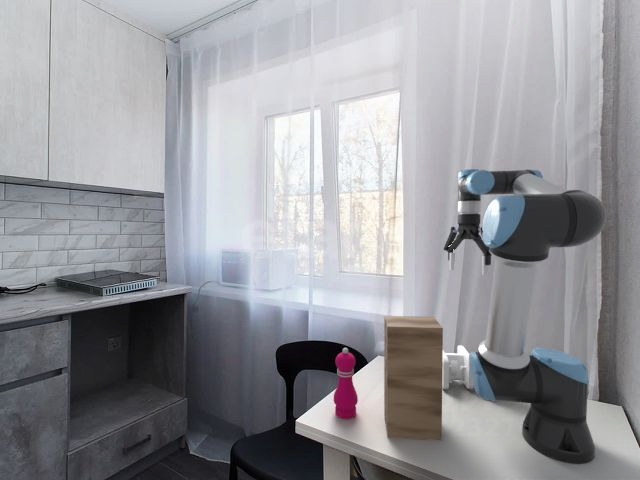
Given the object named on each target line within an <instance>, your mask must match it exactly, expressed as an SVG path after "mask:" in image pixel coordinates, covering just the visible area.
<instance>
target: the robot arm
mask: <svg viewBox="0 0 640 480" xmlns="http://www.w3.org/2000/svg"><path fill="white" fill-rule="evenodd" d="M482 195H483V196H484V195H487V196H488V195H500V196H497V197H495V198H494V199H493V200H492V201H491V202H490V203H489V204H488V206H487V209H486V211H485V213H484V216H483V221H482V226H481V227H480V224H481V214H480V213H481V207H482V206H481V201H482V200H481V199H482V198H481V197H482ZM457 213H458V215H457V225H458V226H451V227H450V232H449V235H448V237H447V240H446V242H445V244H444V247H443V251H446V252H447V253H448V255H447V260H448V262H449V271H454V264H455V263H454V262H455V253H456V252H455V253H453V249H454V250H455V249H457V248H458V247H459V246H460V245H461V243H462V242H463V241H464V240H472V241H474V242H475V244H476V245H477V246H478V248H479V249H480V251H481V252H482V254H483V255H481V276H483V275H484V276H487V275H489V273H490V272H489V269H490V266H491V264H492V257H494V259H495V261H494V262H495V263H494V270H493V277H492V287H491V295H490V301H489V302H490V304H489V311H488V319H487V327H486V335H485V339H484V340H482V341H481V342H480V343H479V345H478V349H477V350H478V351H471V352H470V353H469V365H470V372H471V377H472V381H473V389H474V390H475V393H476V395H477V396H478V397H479V398H481V399H483V400H485V399H486V400H485V401H494V402H497V401H498V402H510V403H521V404H530V407H529V409H528V411H527V414H526V416H525V418H524V419H523V423H522V424H521V425H522V427H521V428H522V432H521V434H522V437H523V439H524V440H525V441H526V442H527V444H528V445H529V446H530V447H532V448H533V449H535V450H537V451H538V452H539V453H542V454H543V455H545V456H547V457H550V458H552V459H555V460H556V461H557V460H558V461H561V462H564V463H569V464H570V463H571V464H585V463H589V462H591V461H593V460H594V459H595V450H596V448H595V442H594V440H593V437H592V433H591V431H590V428H589V425H588V421H587V413H588V412H587V411H588V389H589V387H588V386H589V383H590V381H589V372H588V367H587V365H586V364H585V363H584V362H583V361H582V360H581V359H579V358H577V357H575V356H573V355H571V354H569V353H566V352H563V351H559V350H556V349H553V348H547V347H534V348H533V349H532V350H531V351H530V354H529V353H528V351H526V350H525V347H526V342H527V334H528V329H529V323H530V318H531V317H530V316H531V310H532V304H533V298H534V293H535V288H536V287H535V286H536V281H537V276H538V269H539V265H540V264H541V263H543V262H545V261H546V260H548V259H549V253H550V250H551V248H571V247H572V248H573V247H579V246H581V245H584V244H587V243H589V242H590V241H592V240H593V239H595V238H596V237H597V236H598V235H600V233H601V232H602V231H603V229H604V228H605V226H606V223H607V217H608V216H607V209H606V207H605V205H604V203H602V200H600V198H598V197H596V196H594V195H593V194H591V193H588V192H586V191H584V190H580V189H567V188H565V187H562V186H560V185H558V184H556V183H553V182H551V181H549V180H546V179H544V176H543V174H542V172H541V171H540V170H537V169H523V170H522V169H520V170H519V169H518V170H495V171H493V170H490V171H489V170H485V169H478V168H477V169H476V168H470V169H464V170H460V171H459V172H458V178H457ZM480 234H481V235H480ZM454 239H455V240H454ZM453 241H454V242H453ZM452 242H453V243H452ZM451 244H452V245H451ZM449 245H451V246H450V247H448V246H449ZM455 251H456V250H455Z"/></svg>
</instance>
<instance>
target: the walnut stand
mask: <svg viewBox="0 0 640 480" xmlns="http://www.w3.org/2000/svg"><path fill="white" fill-rule="evenodd" d="M383 318H384V320H383V321H384V323H383V324H384V326H383V327H384V329H383V330H384V331H383V333H384V334H383V335H384V336H383V337H384V338H383V340H384V341H383V342H384V343H383V347H384V349H383V351H384V354H383V355H384V357H383V359H384V360H383V362H384V364H383V367H384V368H383V371H384V372H383V375H384V376H383V377H384V378H383V379H384V380H383V382H384V385H383V386H384V387H383V393H384V395H383V397H384V400H383V401H384V402H383V403H384V404H383V407H384V409H383V413H384V414H383V416H384V423H385V430H386V436H387V438H394V439H409V440H425V441H426V440H427V441H428V440H429V441H442V440H443V437H442V434H443V431H442V430H443V389H442V360H443V351H444V349H443V347H444V346H443V341H444V337H443V336H444V327H443V326H442V325H441V324H440V323H439V321H438V320H437V319H436V317H435V316H418V315H417V316H416V315H414V316H411V315H410V316H408V315H383Z"/></svg>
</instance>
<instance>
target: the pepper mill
mask: <svg viewBox="0 0 640 480" xmlns="http://www.w3.org/2000/svg"><path fill="white" fill-rule="evenodd" d="M334 363H335V366H336V368H337V369H336V371H337V372H336V374H337V376H338V383H337V386H336V389H335V391H334V392H333V393H334V394H333V402H334V405H335V407H334V408H335V410H334V413H335V415H336V416H337V417H338V418H340V419H342V420H349V419H353V418H354V417H355V416H356V415H357V406H356V405H358V401H359V400H358V393H357V390H356V388H355V386H354V382H353V376H354V374H355V372H354V371H355V369H354V367H355V366H356V357H355V356H354V355H353V353H351V352H350V351H349V349H348V348H347V347H344V348H342V352H340V353H338V354H337V356H336V357H335V362H334Z"/></svg>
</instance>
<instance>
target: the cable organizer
mask: <svg viewBox="0 0 640 480" xmlns="http://www.w3.org/2000/svg"><path fill="white" fill-rule="evenodd" d="M456 350H457V352H456V353H455V352H445V350H443V360H442V390H449V388H450V385H451V386H453V381H459V382H460V384H461V385H462V384H463V385H465V387H466V389H467V390H473V389H474V385H473V381H472V377H471V372H470V365H469V354H470V353H469V352H468V350H467V349H466V348H465V346H464V345H457V348H456Z"/></svg>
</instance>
